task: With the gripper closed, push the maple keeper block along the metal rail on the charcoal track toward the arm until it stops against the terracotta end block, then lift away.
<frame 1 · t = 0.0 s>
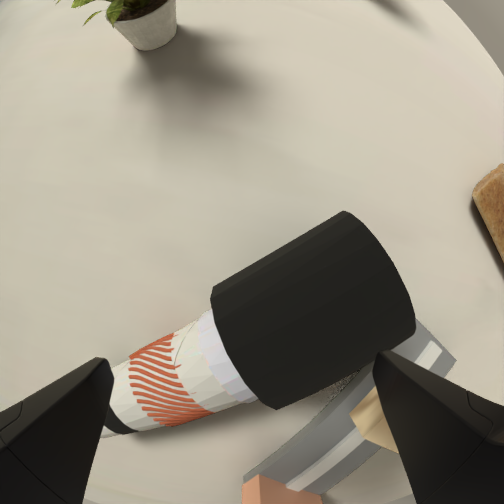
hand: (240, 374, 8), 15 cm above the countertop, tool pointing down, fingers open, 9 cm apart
stone cup: (503, 216, 24), on the countertop
track: (352, 427, 25), on the countertop
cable: (189, 357, 24), on the countertop
house plant: (145, 42, 22), on the countertop
keeper: (404, 418, 19), point 5 cm above the countertop, slide at 5.0 cm
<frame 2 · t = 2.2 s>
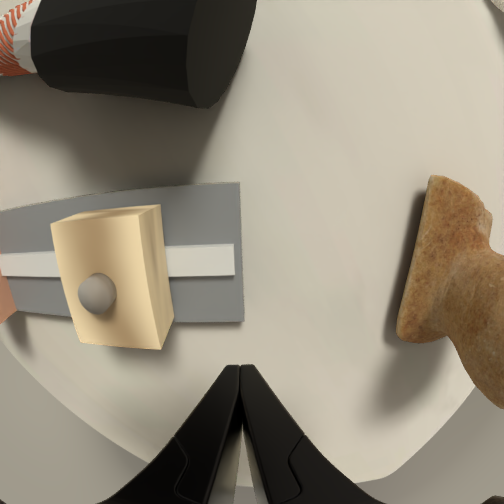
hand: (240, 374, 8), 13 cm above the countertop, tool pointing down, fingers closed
stone cup: (445, 264, 22), on the countertop
track: (85, 256, 20), on the countertop
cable: (60, 48, 15), on the countertop
keeper: (111, 279, 15), point 5 cm above the countertop, slide at 5.0 cm
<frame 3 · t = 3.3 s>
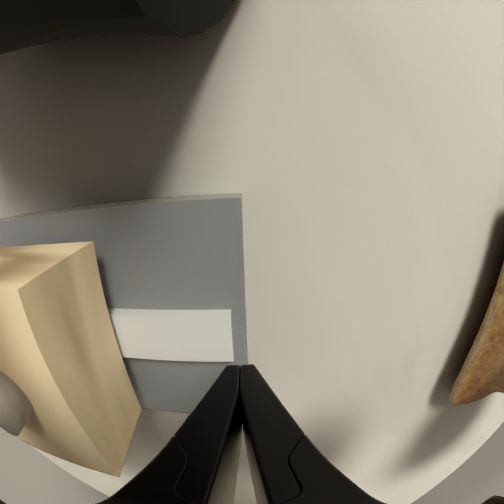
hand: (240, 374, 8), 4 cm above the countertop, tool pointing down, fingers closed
track: (21, 304, 12), on the countertop
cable: (2, 17, 6), on the countertop
keeper: (29, 370, 7), point 5 cm above the countertop, slide at 5.0 cm
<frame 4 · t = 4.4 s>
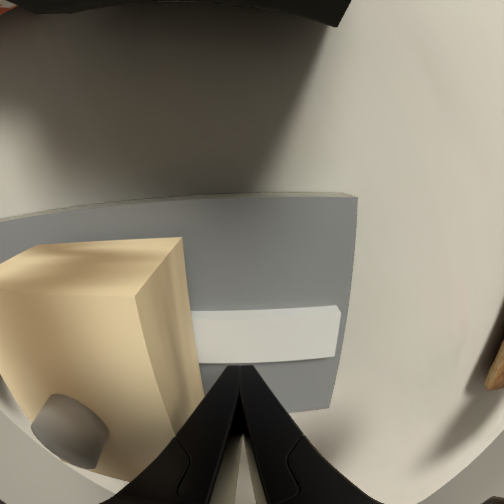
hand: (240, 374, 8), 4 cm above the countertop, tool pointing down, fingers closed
track: (66, 309, 12), on the countertop
keeper: (94, 388, 7), point 5 cm above the countertop, slide at 4.3 cm, touching gripper
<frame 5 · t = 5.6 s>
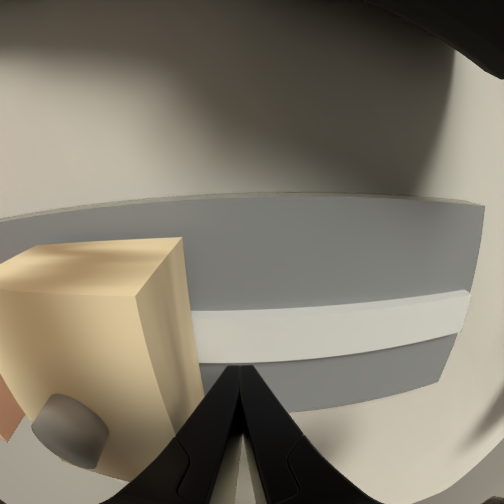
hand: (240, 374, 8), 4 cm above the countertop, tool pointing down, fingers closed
track: (194, 314, 12), on the countertop
keeper: (94, 388, 7), point 5 cm above the countertop, slide at -2.6 cm, touching gripper
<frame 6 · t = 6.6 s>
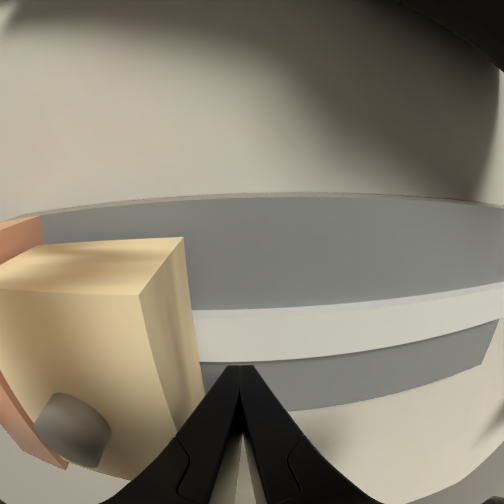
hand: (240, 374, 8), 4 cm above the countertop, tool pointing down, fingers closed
track: (294, 310, 12), on the countertop
keeper: (96, 387, 7), point 5 cm above the countertop, slide at -6.9 cm, touching gripper
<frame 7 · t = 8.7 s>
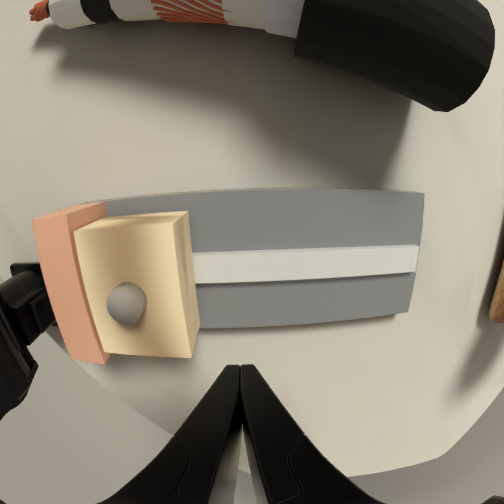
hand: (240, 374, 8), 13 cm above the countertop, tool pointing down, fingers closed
track: (254, 257, 20), on the countertop
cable: (212, 9, 15), on the countertop
keeper: (138, 288, 16), point 5 cm above the countertop, slide at -7.0 cm
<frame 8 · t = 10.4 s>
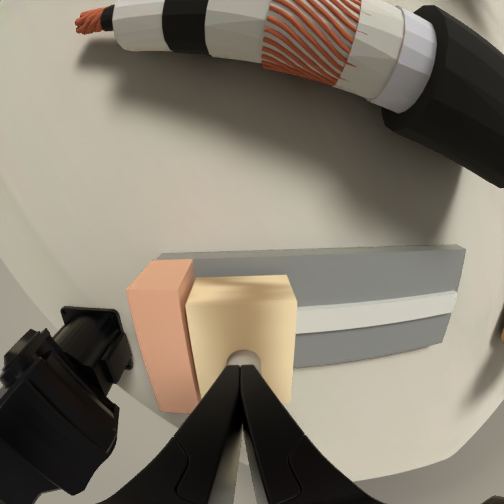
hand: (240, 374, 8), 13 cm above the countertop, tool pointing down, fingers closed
track: (329, 306, 22), on the countertop
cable: (297, 52, 16), on the countertop
keeper: (243, 348, 17), point 5 cm above the countertop, slide at -7.0 cm
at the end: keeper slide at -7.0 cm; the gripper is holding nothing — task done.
